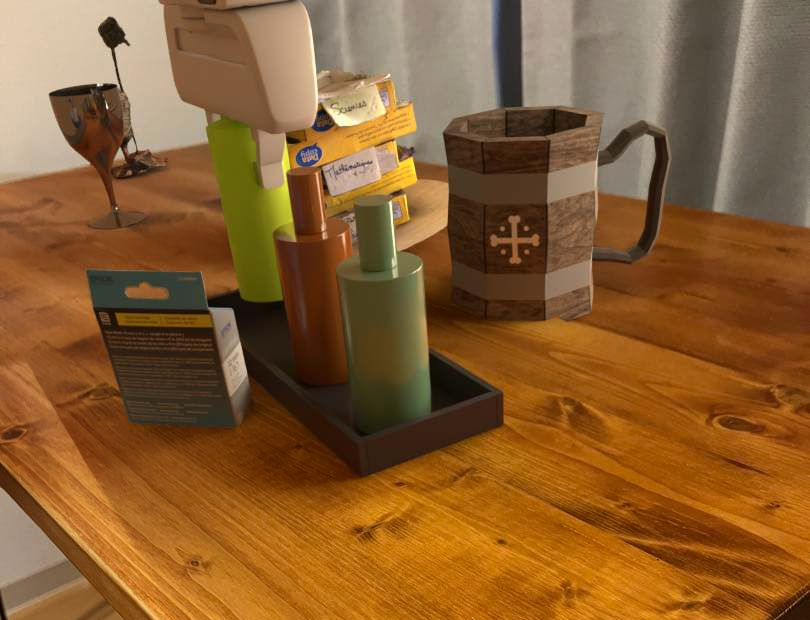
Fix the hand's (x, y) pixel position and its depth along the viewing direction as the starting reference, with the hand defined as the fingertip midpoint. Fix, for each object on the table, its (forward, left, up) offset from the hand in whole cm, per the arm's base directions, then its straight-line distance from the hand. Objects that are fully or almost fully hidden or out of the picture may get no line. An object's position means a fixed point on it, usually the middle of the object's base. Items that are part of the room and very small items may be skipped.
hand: (252, 177), depth 69 cm
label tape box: (-12, -10, -14) cm, 21 cm away
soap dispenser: (0, 0, -9) cm, 9 cm away
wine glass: (-1, +49, -14) cm, 51 cm away
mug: (+24, -8, -14) cm, 29 cm away
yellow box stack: (+18, +20, -14) cm, 30 cm away
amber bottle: (0, -10, -13) cm, 16 cm away
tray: (0, -10, -14) cm, 17 cm away
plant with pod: (+8, +73, -14) cm, 75 cm away
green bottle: (0, -20, -13) cm, 24 cm away
